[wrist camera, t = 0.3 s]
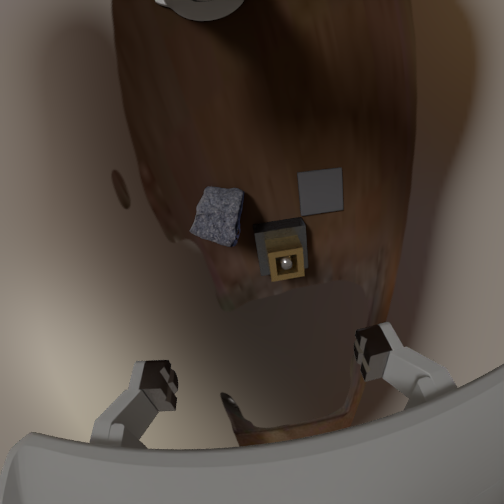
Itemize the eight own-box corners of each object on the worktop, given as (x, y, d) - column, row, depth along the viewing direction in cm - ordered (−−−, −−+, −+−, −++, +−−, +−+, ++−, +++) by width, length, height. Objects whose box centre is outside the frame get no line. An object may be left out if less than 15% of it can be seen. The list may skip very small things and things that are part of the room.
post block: (252, 224, 61) (256, 246, 53) (301, 216, 61) (311, 237, 53) (259, 265, 66) (263, 290, 58) (304, 257, 66) (313, 281, 58)
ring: (264, 240, 58) (267, 253, 54) (297, 234, 58) (302, 247, 54) (268, 267, 61) (271, 281, 57) (299, 262, 61) (304, 276, 57)
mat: (297, 172, 56) (297, 173, 55) (340, 167, 56) (341, 168, 55) (300, 214, 60) (301, 215, 60) (342, 208, 60) (343, 209, 60)
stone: (253, 192, 59) (240, 240, 61) (206, 180, 59) (194, 227, 61) (251, 191, 47) (235, 250, 49) (192, 176, 47) (178, 234, 49)
